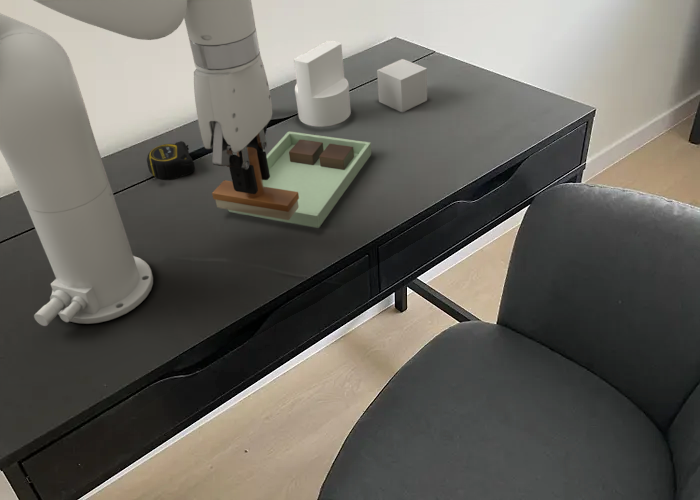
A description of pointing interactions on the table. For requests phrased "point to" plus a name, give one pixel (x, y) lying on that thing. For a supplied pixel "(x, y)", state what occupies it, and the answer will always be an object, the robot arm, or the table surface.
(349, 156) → the chip
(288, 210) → the brush
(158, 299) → the table surface
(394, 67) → the light grey cube
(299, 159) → the dark brown square block
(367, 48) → the table surface
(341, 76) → the base with upright slab
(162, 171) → the tape measure
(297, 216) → the tray
